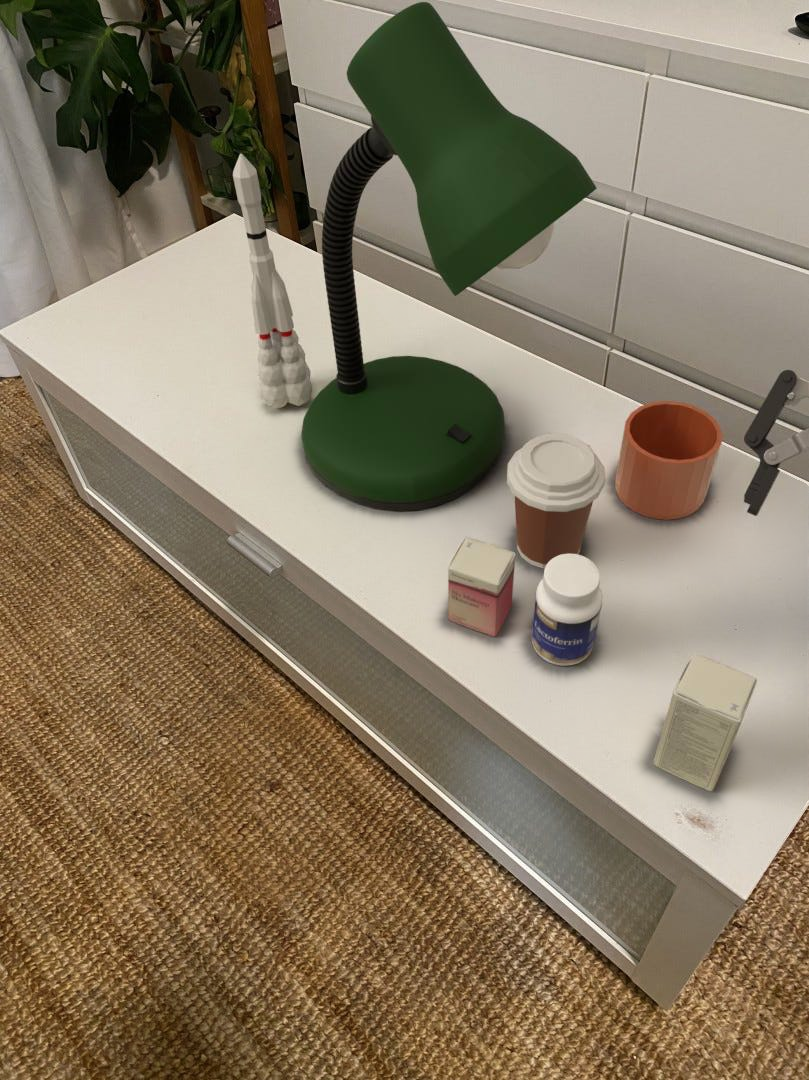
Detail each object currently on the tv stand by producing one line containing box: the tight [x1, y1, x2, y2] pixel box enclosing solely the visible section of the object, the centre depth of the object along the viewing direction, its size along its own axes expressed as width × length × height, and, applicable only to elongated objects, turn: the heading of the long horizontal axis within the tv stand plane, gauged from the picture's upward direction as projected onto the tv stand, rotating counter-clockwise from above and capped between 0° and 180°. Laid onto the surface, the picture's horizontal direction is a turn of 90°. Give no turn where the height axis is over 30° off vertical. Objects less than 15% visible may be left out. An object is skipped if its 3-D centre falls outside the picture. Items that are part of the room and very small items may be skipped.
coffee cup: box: [506, 433, 606, 569], centre depth 83 cm, size 9×9×12 cm
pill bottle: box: [531, 554, 603, 667], centre depth 76 cm, size 6×6×10 cm
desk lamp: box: [300, 1, 598, 512], centre depth 81 cm, size 31×23×45 cm
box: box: [653, 652, 758, 792], centre depth 67 cm, size 5×4×11 cm
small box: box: [447, 536, 517, 637], centre depth 79 cm, size 5×4×8 cm
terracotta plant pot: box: [614, 400, 723, 521], centre depth 89 cm, size 9×9×8 cm
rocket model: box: [232, 153, 313, 410], centre depth 94 cm, size 7×7×30 cm
